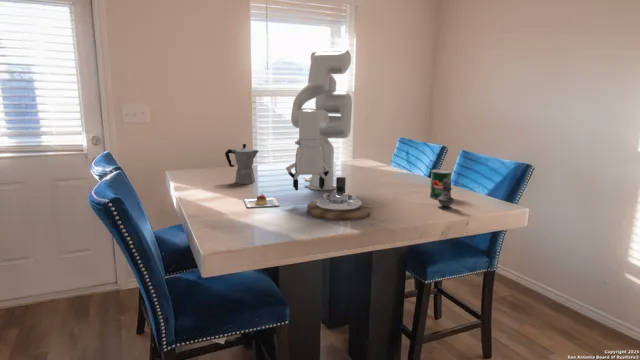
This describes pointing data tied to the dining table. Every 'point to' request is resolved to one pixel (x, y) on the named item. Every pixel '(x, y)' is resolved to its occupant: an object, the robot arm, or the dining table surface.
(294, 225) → the dining table surface
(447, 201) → the gray candlestick
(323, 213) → the base
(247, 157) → the coffeepot
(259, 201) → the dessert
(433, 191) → the canned tomato
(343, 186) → the crank handle
